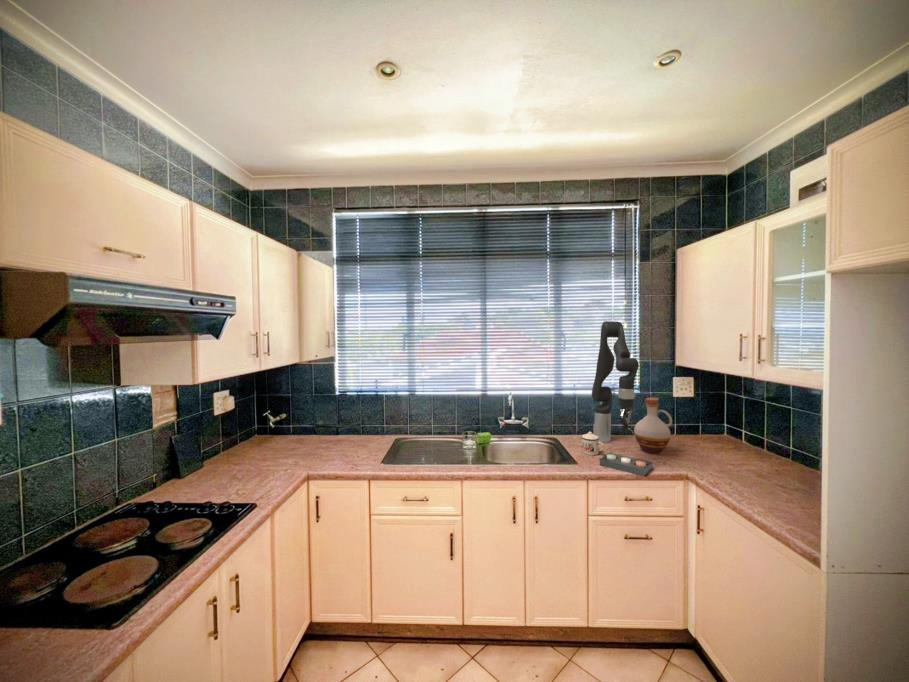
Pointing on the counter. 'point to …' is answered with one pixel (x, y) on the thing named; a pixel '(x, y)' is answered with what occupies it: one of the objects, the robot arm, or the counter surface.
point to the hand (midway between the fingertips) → (625, 430)
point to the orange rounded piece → (641, 463)
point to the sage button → (611, 456)
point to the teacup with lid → (591, 444)
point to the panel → (626, 465)
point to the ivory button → (626, 460)
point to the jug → (653, 429)
